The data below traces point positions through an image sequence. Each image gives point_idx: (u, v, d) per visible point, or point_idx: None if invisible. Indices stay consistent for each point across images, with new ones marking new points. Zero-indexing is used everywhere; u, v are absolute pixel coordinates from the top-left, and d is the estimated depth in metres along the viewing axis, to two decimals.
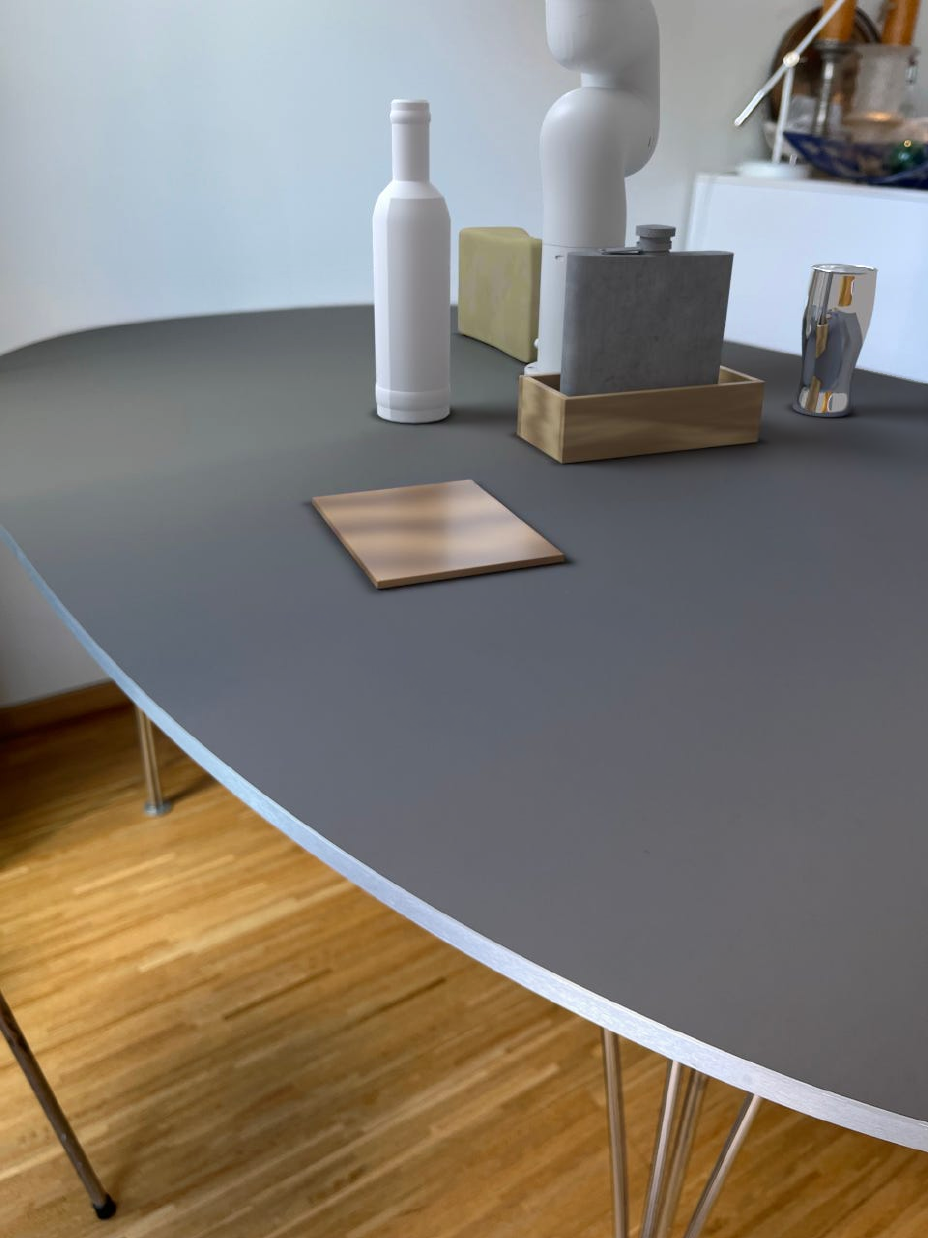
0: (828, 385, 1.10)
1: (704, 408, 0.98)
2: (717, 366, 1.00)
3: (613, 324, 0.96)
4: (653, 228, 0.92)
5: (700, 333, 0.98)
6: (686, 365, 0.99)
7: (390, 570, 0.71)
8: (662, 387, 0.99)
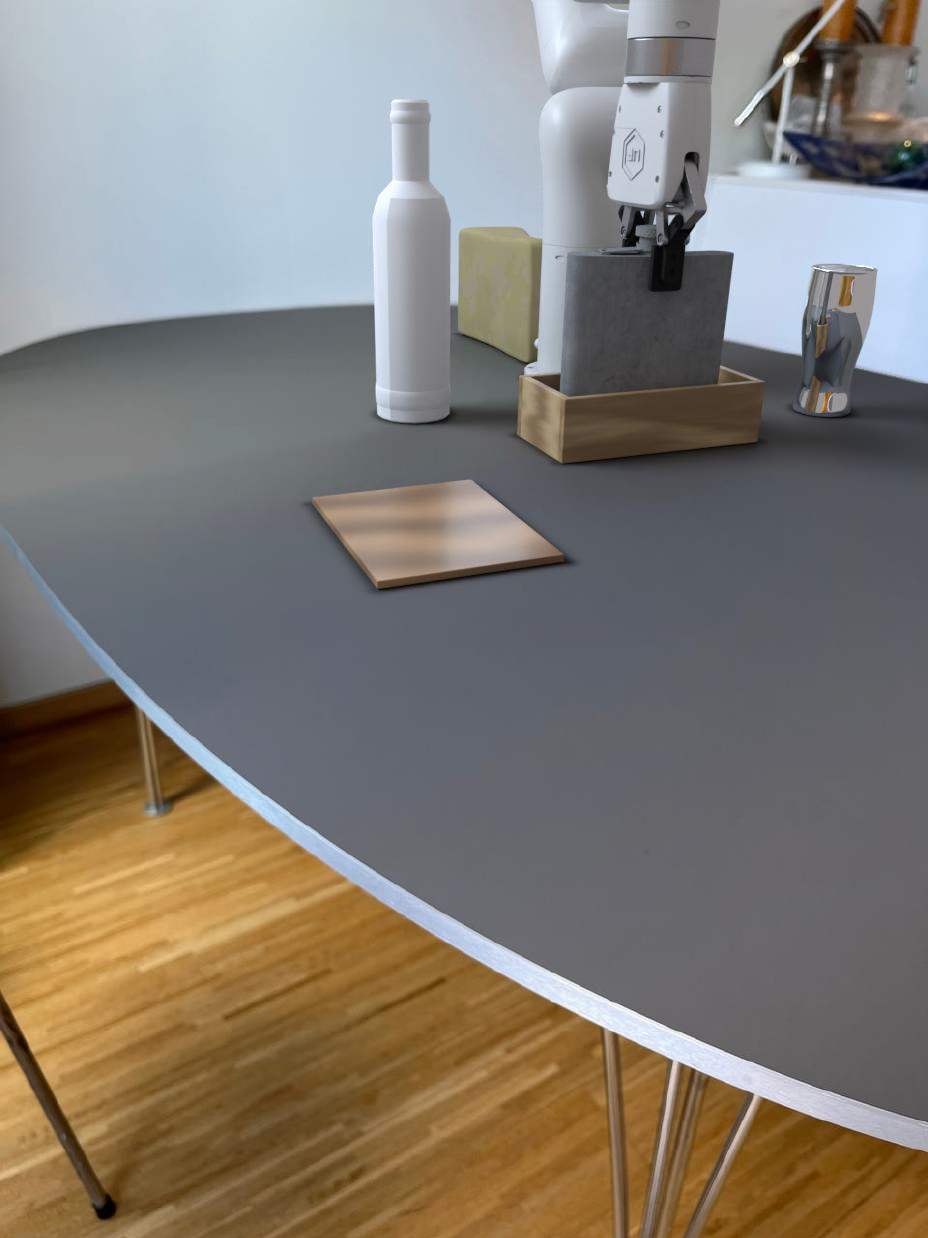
0: (828, 385, 1.10)
1: (704, 408, 0.98)
2: (717, 366, 1.00)
3: (613, 324, 0.96)
4: (653, 228, 0.92)
5: (700, 333, 0.98)
6: (686, 365, 0.99)
7: (390, 570, 0.71)
8: (662, 387, 0.99)
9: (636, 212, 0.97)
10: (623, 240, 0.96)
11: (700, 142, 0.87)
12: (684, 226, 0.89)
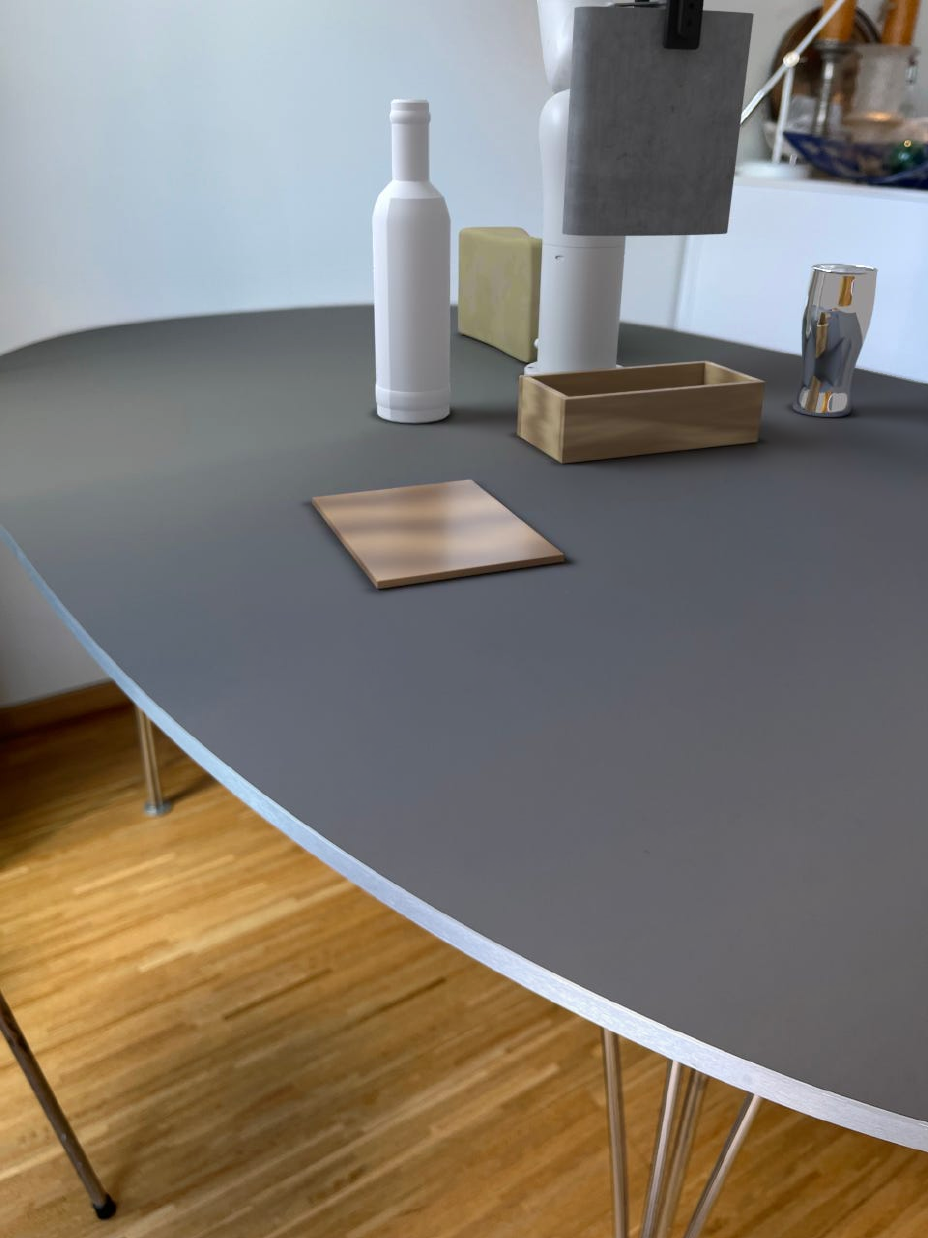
0: (828, 385, 1.10)
1: (704, 408, 0.98)
2: (735, 147, 0.91)
3: (626, 91, 0.86)
4: None
5: (718, 106, 0.89)
6: (703, 143, 0.90)
7: (390, 570, 0.71)
8: (678, 168, 0.90)
9: None
10: None
11: None
12: None
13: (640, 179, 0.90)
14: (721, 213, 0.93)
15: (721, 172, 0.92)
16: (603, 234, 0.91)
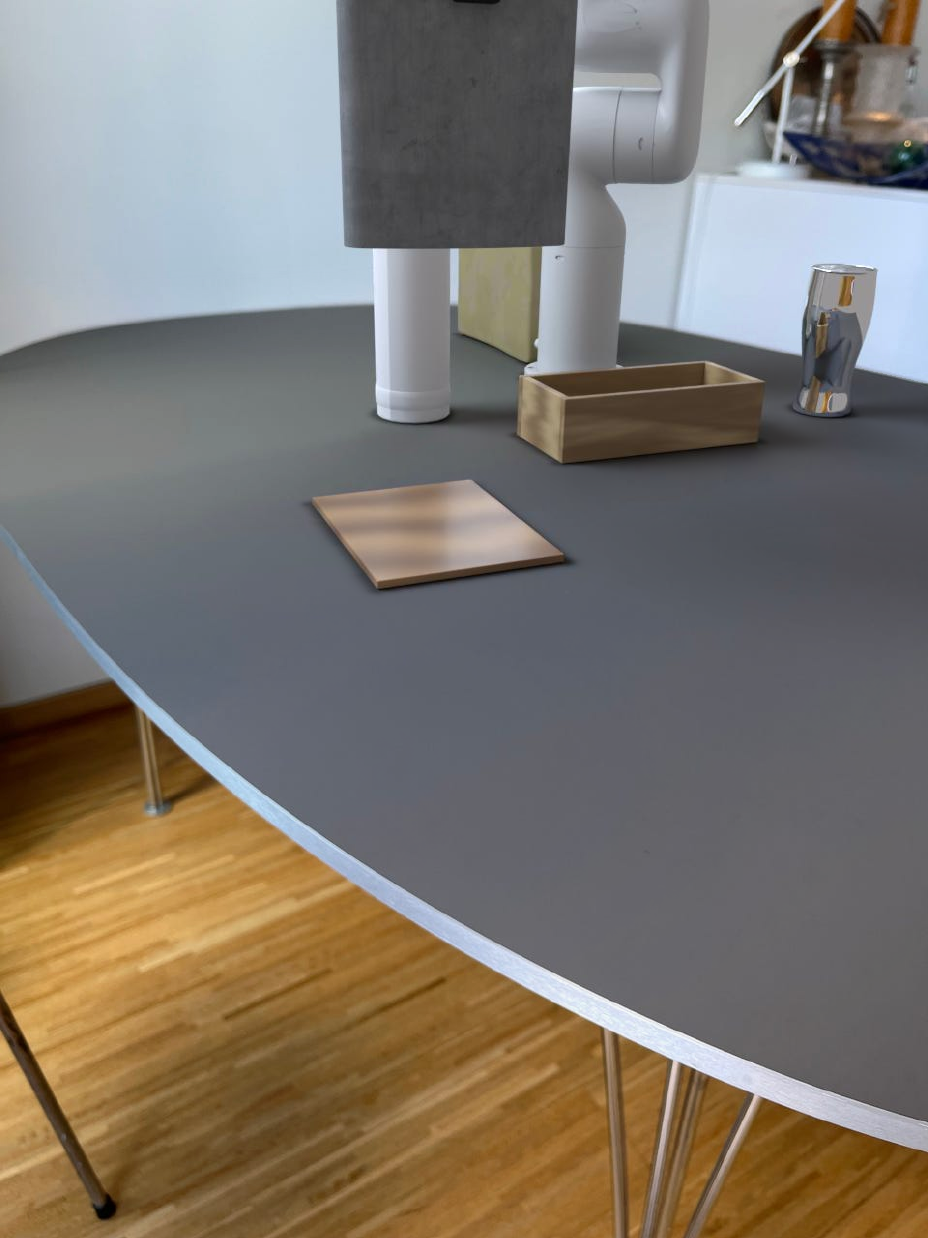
0: (828, 385, 1.10)
1: (704, 408, 0.98)
2: (565, 133, 0.70)
3: (409, 58, 0.65)
4: None
5: (537, 79, 0.68)
6: (520, 128, 0.69)
7: (390, 570, 0.71)
8: (487, 161, 0.69)
9: None
10: None
11: None
12: None
13: (437, 175, 0.69)
14: (553, 219, 0.72)
15: (549, 167, 0.71)
16: (393, 247, 0.70)
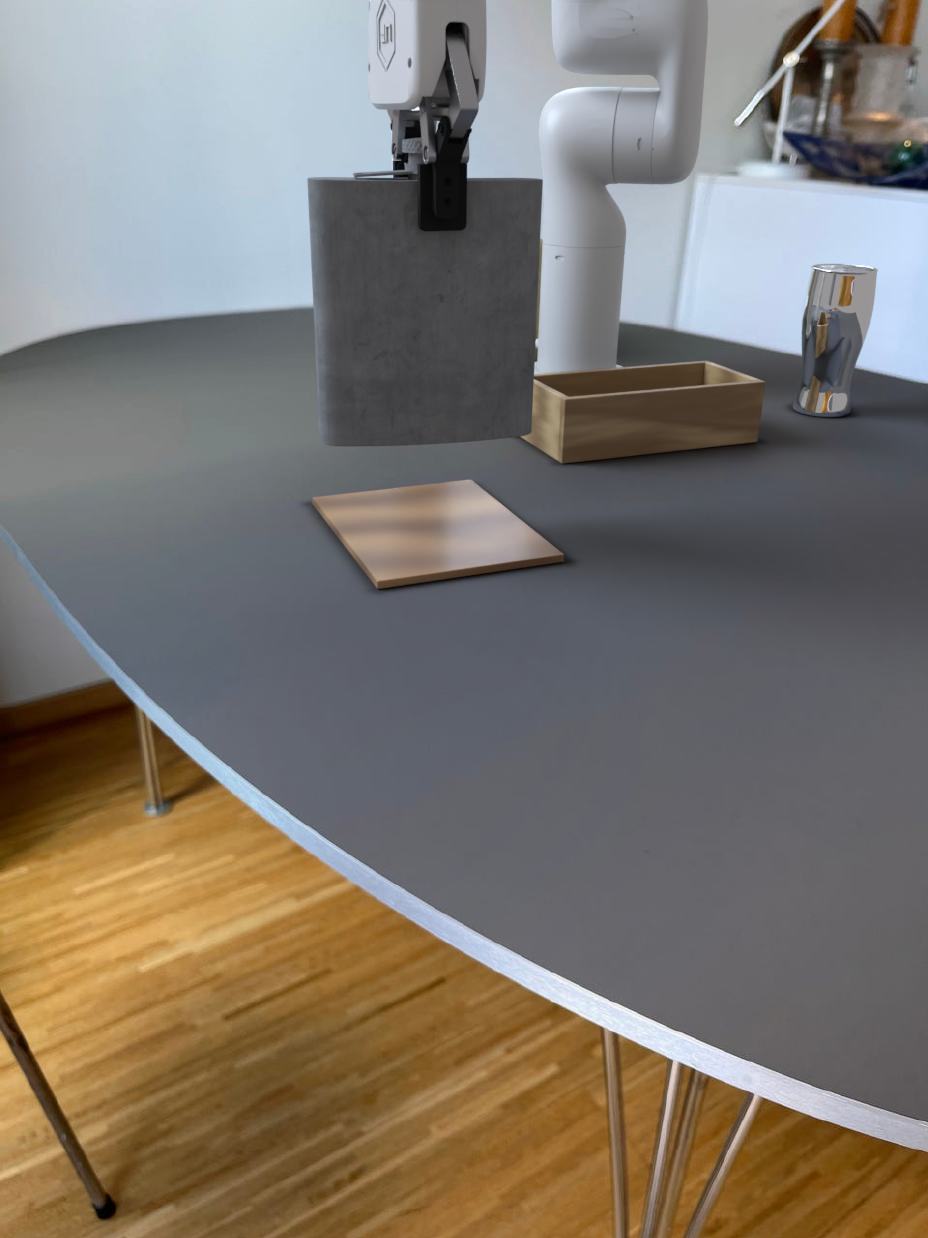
0: (828, 385, 1.10)
1: (704, 408, 0.98)
2: (530, 336, 0.74)
3: (379, 279, 0.69)
4: None
5: (502, 291, 0.71)
6: (486, 335, 0.72)
7: (390, 570, 0.71)
8: (455, 366, 0.72)
9: (414, 125, 0.70)
10: (393, 162, 0.69)
11: (468, 8, 0.60)
12: (453, 133, 0.63)
13: (408, 381, 0.72)
14: (519, 413, 0.76)
15: (515, 367, 0.74)
16: (366, 445, 0.73)
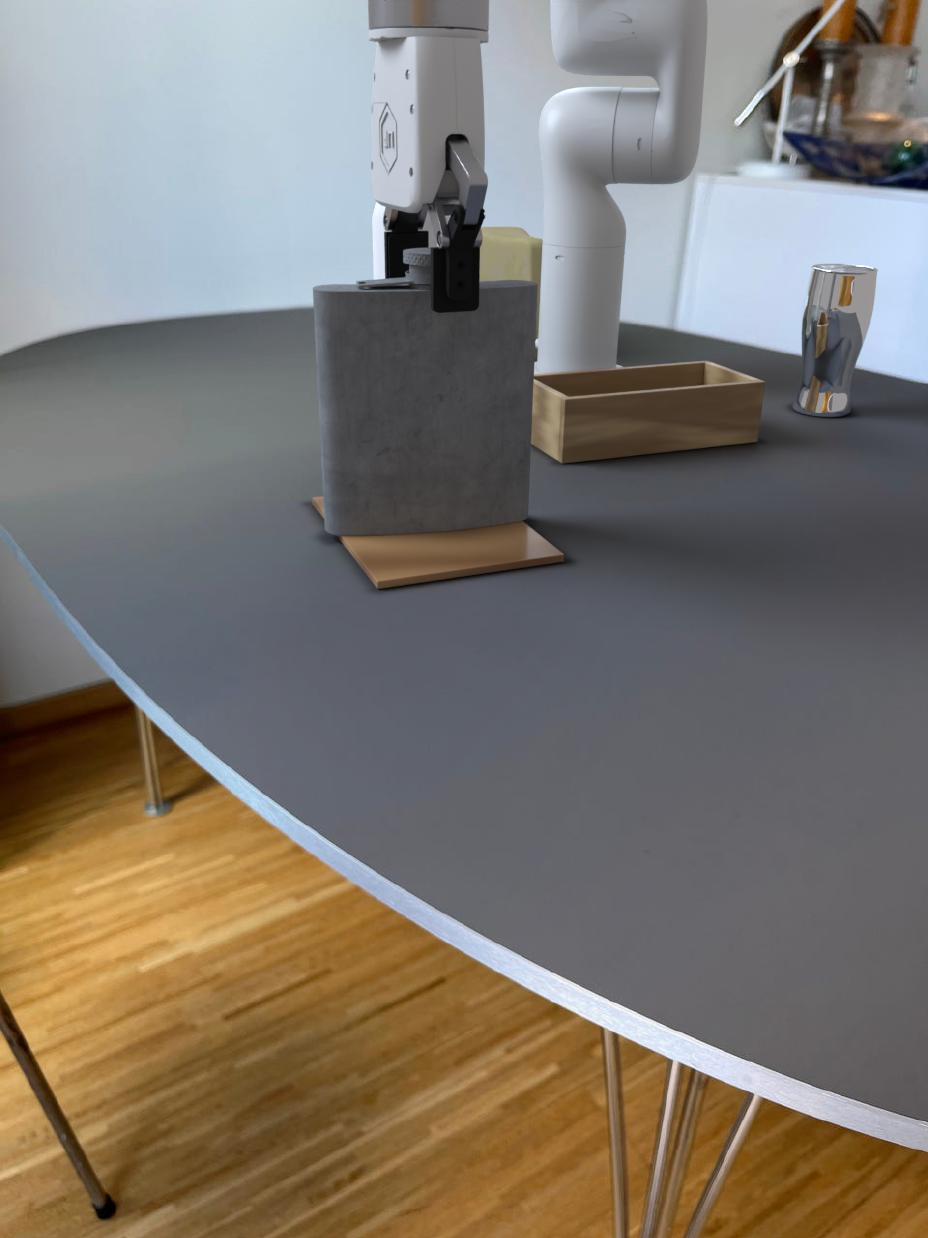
0: (828, 385, 1.10)
1: (704, 408, 0.98)
2: (527, 429, 0.77)
3: (381, 381, 0.72)
4: (423, 253, 0.69)
5: (499, 389, 0.74)
6: (484, 431, 0.75)
7: (390, 570, 0.71)
8: (455, 460, 0.75)
9: None
10: (385, 234, 0.74)
11: (467, 121, 0.63)
12: (467, 216, 0.63)
13: (409, 475, 0.75)
14: (516, 500, 0.79)
15: (512, 458, 0.77)
16: (370, 534, 0.77)
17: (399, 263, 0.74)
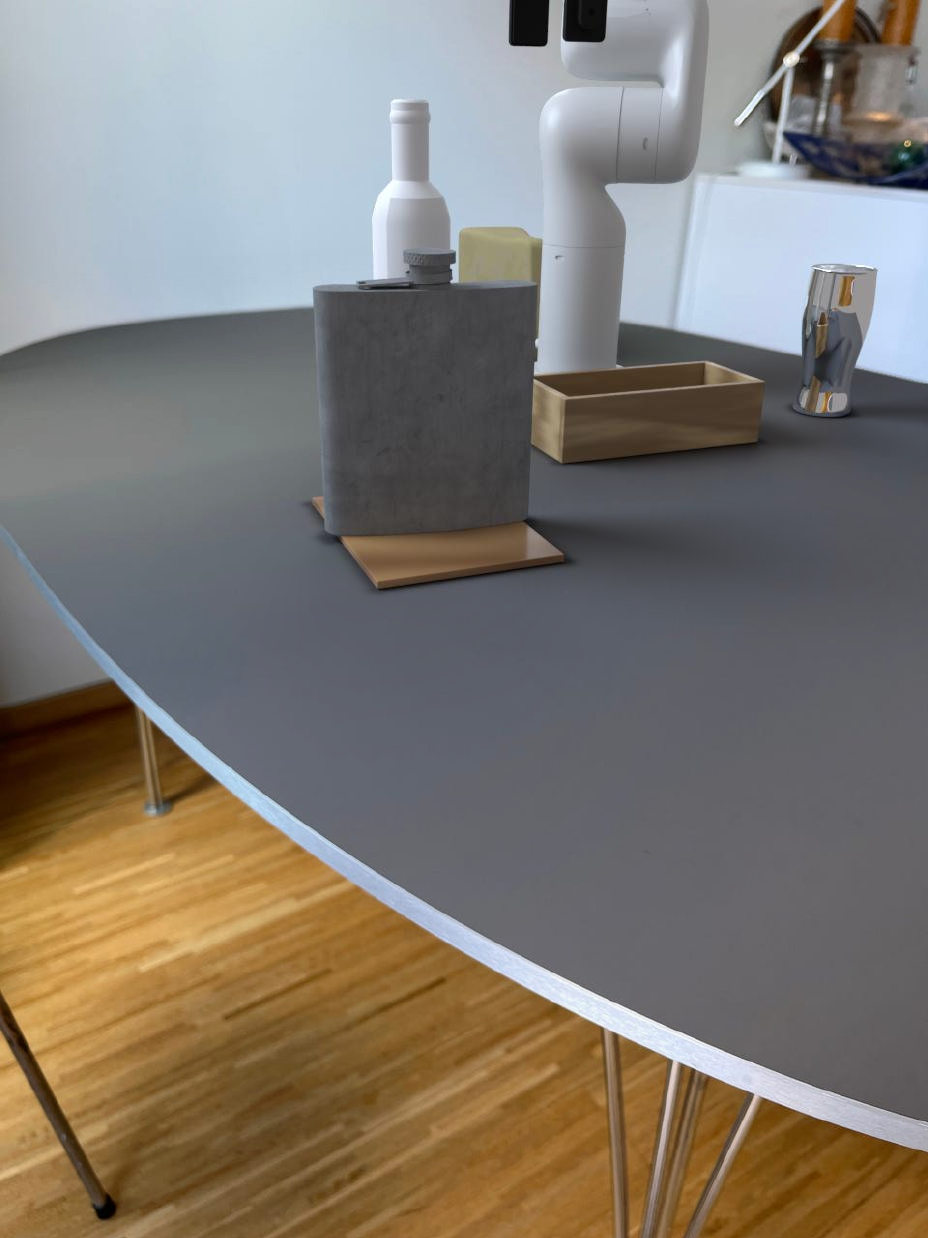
0: (828, 385, 1.10)
1: (704, 408, 0.98)
2: (527, 429, 0.77)
3: (381, 381, 0.72)
4: (423, 253, 0.69)
5: (499, 389, 0.74)
6: (484, 431, 0.75)
7: (390, 570, 0.71)
8: (455, 460, 0.75)
9: None
10: None
11: None
12: None
13: (409, 475, 0.75)
14: (516, 500, 0.79)
15: (512, 458, 0.77)
16: (370, 534, 0.77)
17: (523, 18, 0.81)
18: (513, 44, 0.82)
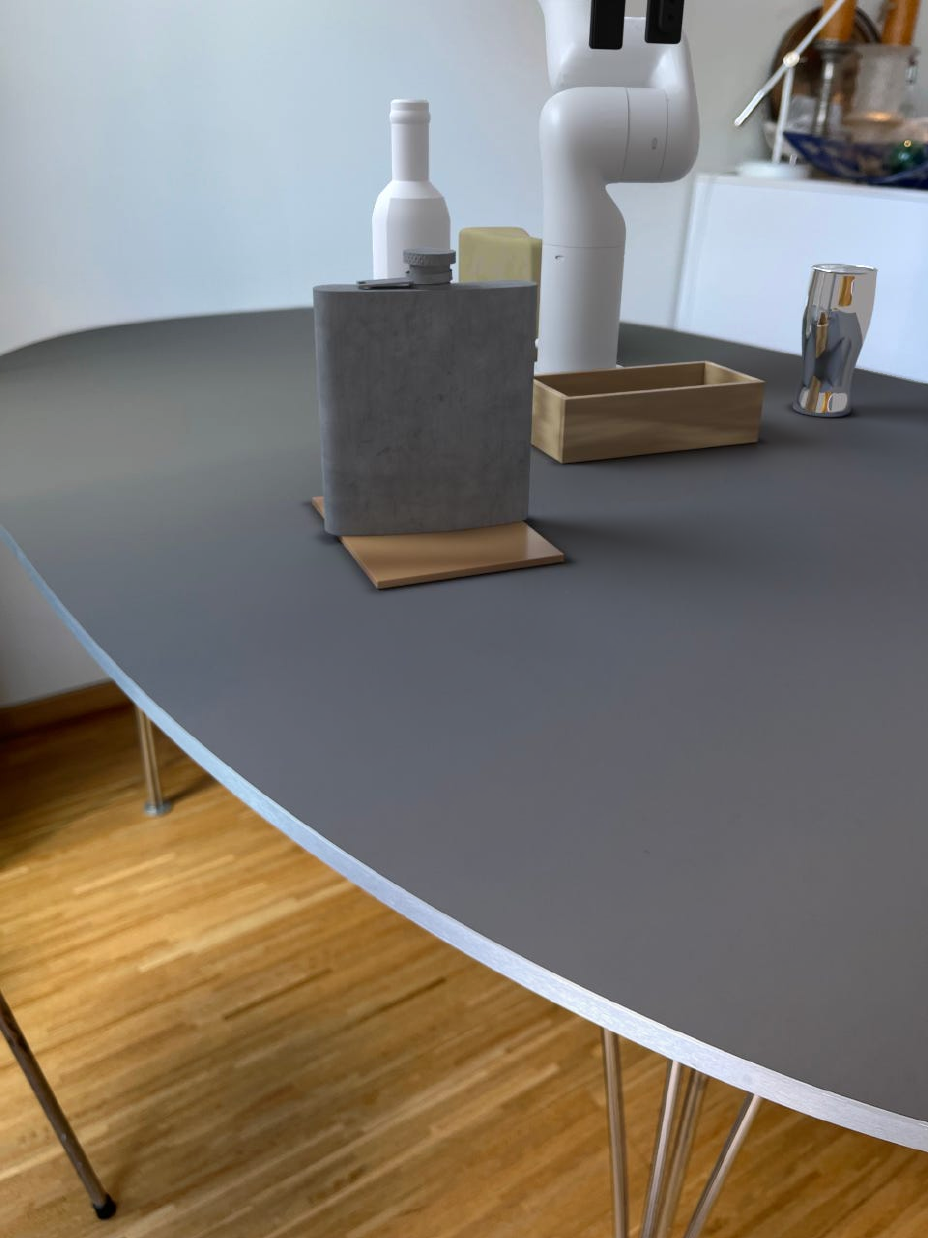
0: (828, 385, 1.10)
1: (704, 408, 0.98)
2: (527, 429, 0.77)
3: (381, 381, 0.72)
4: (423, 253, 0.69)
5: (499, 389, 0.74)
6: (484, 431, 0.75)
7: (390, 570, 0.71)
8: (455, 460, 0.75)
9: None
10: None
11: None
12: None
13: (409, 475, 0.75)
14: (516, 500, 0.79)
15: (512, 458, 0.77)
16: (370, 534, 0.77)
17: (602, 24, 0.92)
18: (593, 47, 0.93)
